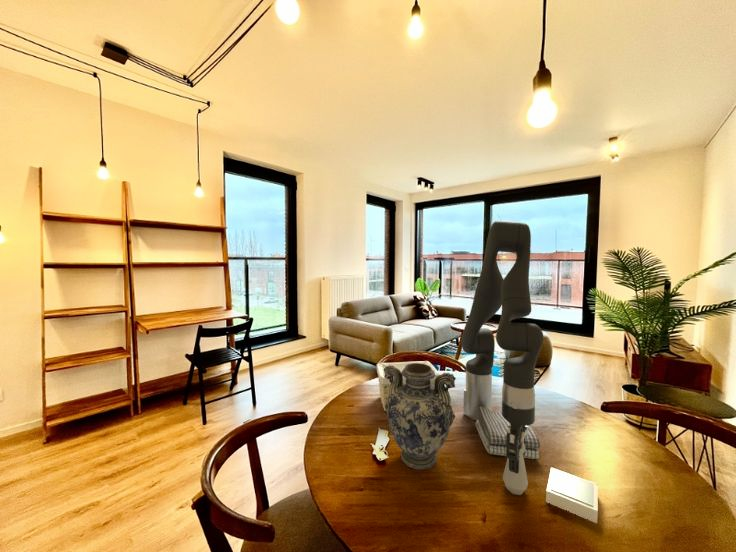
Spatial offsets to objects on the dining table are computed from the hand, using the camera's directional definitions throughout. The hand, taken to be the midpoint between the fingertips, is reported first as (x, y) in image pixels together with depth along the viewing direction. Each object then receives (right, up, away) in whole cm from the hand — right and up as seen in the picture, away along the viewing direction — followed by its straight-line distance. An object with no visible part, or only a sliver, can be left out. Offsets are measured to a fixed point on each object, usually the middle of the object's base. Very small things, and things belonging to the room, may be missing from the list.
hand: (517, 462), depth 77 cm
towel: (+6, -7, +21) cm, 23 cm away
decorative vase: (-23, -7, +13) cm, 28 cm away
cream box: (-22, -5, +48) cm, 53 cm away
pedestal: (+12, -8, -3) cm, 15 cm away
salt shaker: (0, -8, +1) cm, 8 cm away
